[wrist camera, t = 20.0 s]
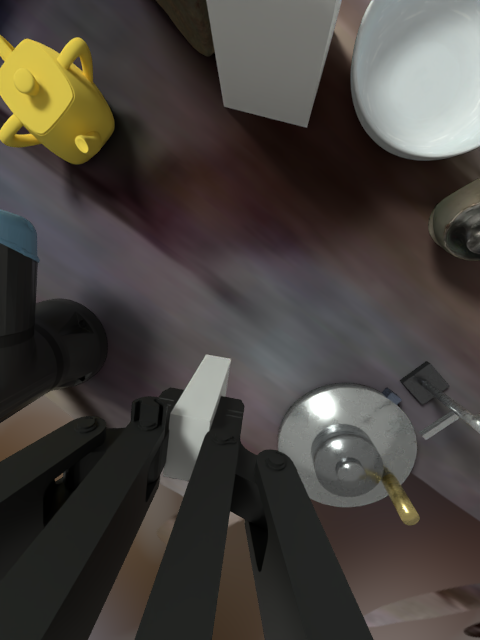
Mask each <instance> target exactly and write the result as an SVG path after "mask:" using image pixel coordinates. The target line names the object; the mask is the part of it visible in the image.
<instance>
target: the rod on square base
mask: <svg viewBox="0 0 480 640" xmlns="http://www.w3.org/2000/svg"><path fill="white" fill-rule="evenodd" d="M400 381H401V382H402V383H403V385H404V386H405V387H406V388H407V389H408V390H409V391H410V392H411V393H412V395H413V396H414V397H415V398H416V399H417V400H418V401H419V402H420V403H421V404H422V405H423V404H425V403H426V402H428V401H429V400H430V399H432V398H433V397H436V398H437V399H438V400H439V401H441V402H442V403H443V404H444V405H446V406H447V407H448V408H449V409H451V410H452V411H450V412H449V413H447V414H446V415H444V416H443V417H441V418H440V419H438V420H437V421H435V422H434V423H432V424H431V425H429V426H428V427H426V428H425V429H423V430H422V431H420V432H419V433H420V434H421V435H422V436H423V437H424V439H425V440H427V439H428V438H430V437H431V436H433V435H434V434H436V433H437V432H439V431H440V430H442V429H444V428H445V427H447V426H448V425H450V424H451V423H453V422H454V421H456V420H457V419H459V417H460V418H462V419H463V420H464V421H465V422H466V423H468V424H469V425H470V426H471V427H473V428H474V429H475V430H476V431H477V432H479V433H480V413H478V414H477V415H475V416H474V415H472V414H471V413H470V412H468V411H467V410H466V409H464V408H463V407H462V406H460V405H459V404H458V403H456V402H455V401H454V400H452V399H451V398H450V397H448V396H447V395H446V394H444V393H443V392H442V391H443V390H445V389H446V388H448V387H449V385H448V383H447V382H446V381H445V380H444V379H443V378H442V377H441V375H440V374H439V373H438V372H437V371H436V370H435V368H434V367H433V366H432V365H431V364H430V363H429V362H427V361H426V362H425V363H423V364H422V365H421V366H419V367H418V368H416V369H415V370H414V371H412V372H411V373H409V374H408V375H407V376H405V377H404V378H403V379H401V380H400ZM456 414H457V415H458V416H459V417H458V416H457V415H456Z"/></svg>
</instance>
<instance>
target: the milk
mask: <svg viewBox="0 0 480 640" xmlns="http://www.w3.org/2000/svg"><path fill="white" fill-rule="evenodd" d="M341 1H342V0H206V2H207V8H208V14H209V20H210V26H211V32H212V38H213V44H214V50H215V56H216V62H217V68H218V74H219V80H220V86H221V92H222V98H223V104H224V107H227V108H231V109H235V110H239V111H243V112H247V113H251V114H255V115H259V116H263V117H267V118H270V119H274V120H278V121H282V122H286V123H290V124H294V125H298V126H302V127H306V128H307V126H308V122H309V119H310V115H311V111H312V108H313V104H314V101H315V97H316V93H317V90H318V86H319V83H320V79H321V76H322V72H323V68H324V65H325V61H326V58H327V54H328V51H329V47H330V43H331V40H332V36H333V33H334V29H335V25H336V21H337V17H338V13H339V9H340V5H341Z"/></svg>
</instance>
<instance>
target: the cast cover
mask: <svg viewBox="0 0 480 640" xmlns="http://www.w3.org/2000/svg"><path fill="white" fill-rule="evenodd" d="M311 456H312V461H313V465H314V469H315V473H316V477H317V479H318V481H319V483H320V484H321V485H322V486H323V487H324V488H325V489H326V490H327V491H329V492H330V493H332V494H335V495H338V496H342V497H356V496H361V495H363V494H366V493H368V492H369V491H371V490H372V489H374V488H375V487H376V486H377V485H378V483H379V482H380V480H381V478H382V475H383V470H384V466H383V461H382V458H381V456H380V454H379V453H378V451H377V449H376V447H375V446H374V444H373V442H372V441H371V439H370V437H369V436H368V435H367V434H366V433H365V432H364V431H363V430H362V429H360V428H358V427H356V426H353V425H349V424H336V425H332V426H329V427H327V428H325V429H323V430H322V431H321V432H320V433H318V434H317V436H316V437H315V439H314V440H313V443H312V446H311Z"/></svg>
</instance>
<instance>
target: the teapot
mask: <svg viewBox="0 0 480 640" xmlns="http://www.w3.org/2000/svg"><path fill="white" fill-rule="evenodd" d="M0 56H1V58H2V59H3V60H4V61H5V62H4V64H3V65H2V67H1V68H0V95H1V97H2V98H3V100H4V101H5V103H6V104H7V106H8V107H9V108H10V110H11V111H12V112H13V113H14V114H13V115H12V116H11V117H10V118H9V119H8V120H7V121H6V123H5V124H4V125H3V127H2V128H1V130H0V140H1V141H2V142H3V143H4V144H5V145H7V146H10V147H26V146H32V145H38V144H43V145H44V146H45V147H47V148H48V149H49V150H50V151H52V152H53V153H54V154H56V155H57V156H59V157H60V158H62V159H64V160H65V161H67V162H69V163H72V164H83V163H85V162H87V161H88V160H89V159H91V158H92V157H93V156H94V155H95V154H97V153H98V152H99V151H100V149H101V148H102V147H103V145H104V144H105V143H106V142H107V140H108V139H109V138H110V136H111V135H112V133H113V131H114V128H115V122H114V118H113V114H112V112H111V110H110V108H109V106H108V104H107V102H106V100H105V99H104V97H103V95H102V94H101V92H100V91H99V89H98V88H97V87H96V85H95V84H94V83H93V66H92V57H91V53H90V50H89V47H88V46H87V44H86V42H85V41H84V40H83V39H81V38H74V39H72V40H71V41H70V42H69V43H68V44H67V45H66V46H65V47H64V49H63V50H62V51H61V53H60V54H59V53H58V52H56V51H55V50H53V49H51V48H49V47H47V46H45V45H43V44H40V43H38V42H36V41H33V40H30V39H25V40H23V41H22V42H21V43H20V44H19V45H18V46H17V47H16V48H14V47H13V46H12V45H11V44H10V43H9V42H8V41H7V40H6V39H5V38H3V37H2V36H1V35H0ZM77 57H80V60H81V63H82V68H83V71H81V70H80V69H79V68H78V67H77V66H75V65H74V64H73V62H74V60H75V59H76V58H77ZM23 125H24V127H25V128H26V129H27V130H28V131H29V132H30V133H31V134H26V135H16V133H17V131H18V130H19V129H20V128H21V127H22V126H23Z"/></svg>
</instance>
